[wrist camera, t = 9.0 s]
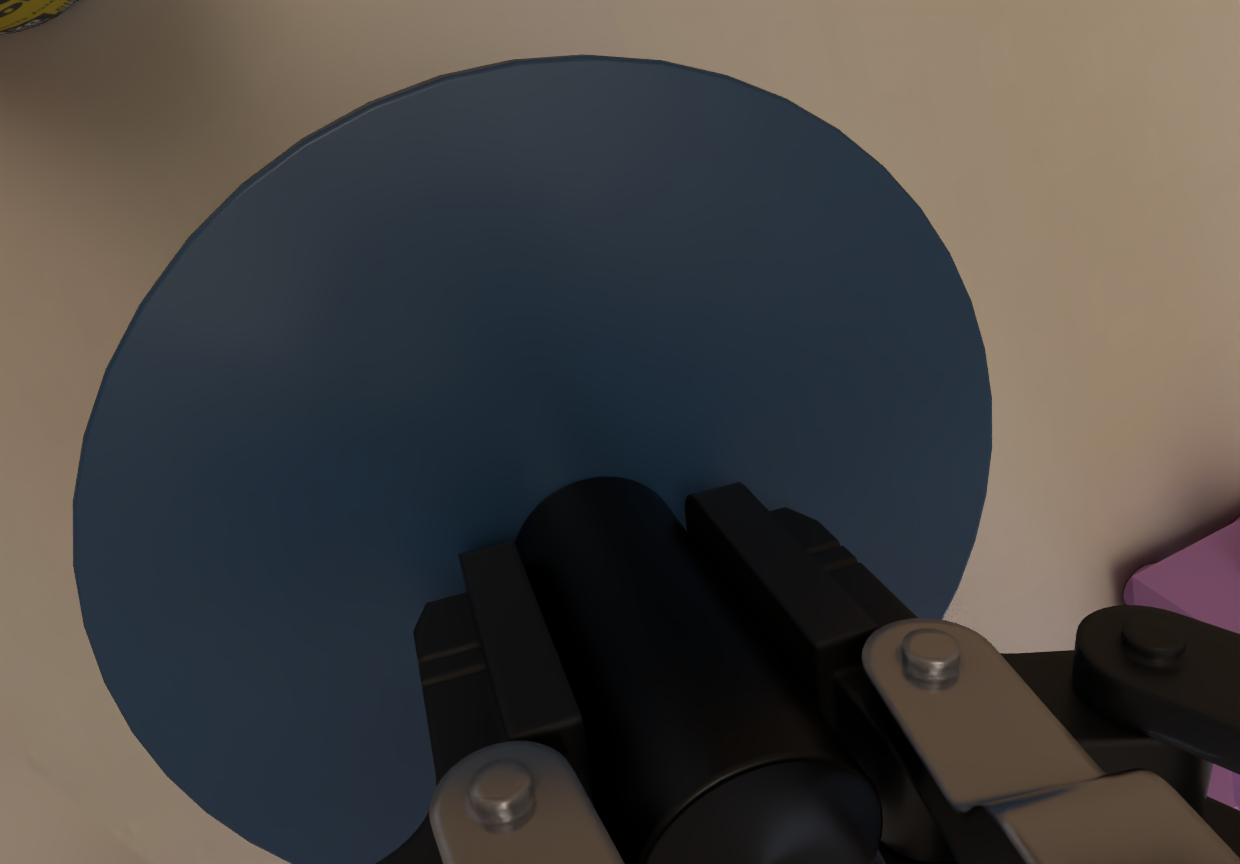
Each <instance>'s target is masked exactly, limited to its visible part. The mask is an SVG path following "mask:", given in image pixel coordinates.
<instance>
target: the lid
mask: <svg viewBox="0 0 1240 864" xmlns="http://www.w3.org/2000/svg"><path fill="white" fill-rule="evenodd" d="M991 451H992V397H991V389H990V382H989V375H988V368H987V361H986V353H985V348H984V344H983V341H982V337H981V334H980V330H979V327H978V323H977V320H976V316H975V312H974V309H973V305H972V302H971V299H970V297H969V295H968V293H967V290H966V288H965V286H964V284H963V281H962V279H961V277H960V275H959V273H958V270H957V268H956V266H955V264H954V261H953V259H952V257H951V255H950V253H949V251H948V250H947V248H946V247H945V245H944V243H943V242H942V240H941V239H940V237H939V236H938V234H937V233H936V231H935V229H934V228H933V226H932V225H931V223H930V222H929V220H928V219H927V217H926V216H925V214H924V212H923V211H922V209H921V208H920V207H919V205H918V204H917V203H916V202H915V201H914V200H913V199H912V198H911V196H910V195H909V194H908V193H907V192H906V191H905V190H904V189H903V187H902V186H901V185H900V184H899V183H898V182H897V181H896V180H895V178H894V177H893V176H892V175H891V174H890V173H889V172H888V171H887V169H886V168H885V167H884V166H883V165H882V164H880V163H879V162H878V161H877V160H875V159H874V158H873V157H872V156H871V155H869V154H868V153H867V152H866V151H864V150H863V149H862V148H861V147H860V146H858V145H857V144H856V143H855V142H854V141H852V140H851V139H850V138H849V137H847V136H846V135H845V134H844V133H843V132H841V131H840V130H839V129H837V128H836V127H834V126H832V125H830V124H829V123H827V122H825V121H824V120H822V119H820V118H818V117H817V116H815V115H813V114H812V113H810V112H808V111H807V110H805V109H803V108H801V107H800V106H798V105H796V104H795V103H793V102H791V101H790V100H788V99H786V98H783V97H781V96H778V95H776V94H773V93H771V92H768V91H766V90H763V89H761V88H758V87H756V86H753V85H750V84H748V83H745V82H743V81H740V80H738V79H735V78H733V77H730V76H728V75H724V74H719V73H715V72H711V71H706V70H702V69H697V68H693V67H689V66H684V65H680V64H675V63H671V62H667V61H662V60H650V59H637V58H623V57H610V56H596V55H570V56H556V57H542V58H528V59H514V60H508V61H503V62H499V63H494V64H490V65H485V66H480V67H476V68H471V69H467V70H462V71H458V72H453V73H449V74H444V75H439V76H437V77H434V78H431V79H429V80H426V81H423V82H421V83H418V84H415V85H413V86H410V87H407V88H405V89H402V90H399V91H397V92H394V93H391V94H389V95H386V96H383V97H381V98H378V99H375V100H373V101H370V102H368V103H366V104H364V105H362V106H361V107H359V108H357V109H355V110H353V111H351V112H350V113H348V114H346V115H344V116H342V117H340V118H339V119H337V120H335V121H333V122H331V123H329V124H328V125H326V126H324V127H322V128H320V129H318V130H317V131H315V132H313V133H311V134H309V135H307V136H306V137H304V138H302V139H301V140H299V141H298V142H297V143H295V144H294V145H293V146H291V147H290V148H289V149H287V150H286V151H285V152H283V153H282V154H281V155H279V156H278V157H277V158H275V159H274V160H273V161H271V162H270V163H269V164H267V165H266V166H265V167H263V168H262V169H261V170H259V171H258V172H257V173H255V174H254V175H253V176H251V177H250V178H249V179H247V180H246V181H245V182H243V183H242V184H241V185H240V186H239V187H238V188H237V189H236V190H235V191H234V192H233V193H232V194H231V195H230V196H229V197H228V198H227V199H226V200H225V201H224V202H223V203H222V204H221V205H220V206H219V207H218V208H217V209H216V210H215V211H214V212H213V213H212V214H211V215H210V216H209V217H208V218H207V219H206V220H205V221H204V222H203V223H202V224H201V225H200V226H199V227H198V228H197V229H196V230H195V231H194V232H193V233H192V234H191V235H190V236H189V237H188V239H187V240H186V241H185V243H184V244H183V245H182V247H181V248H180V250H179V251H178V252H177V254H176V255H175V256H174V258H173V259H172V260H171V262H170V263H169V265H168V266H167V267H166V269H165V270H164V271H163V273H162V274H161V275H160V277H159V278H158V279H157V281H156V282H155V284H154V285H153V286H152V288H151V289H150V290H149V292H148V293H147V294H146V296H145V297H144V299H143V300H142V302H141V303H140V305H139V307H138V309H137V310H136V312H135V314H134V316H133V318H132V320H131V322H130V324H129V326H128V328H127V330H126V331H125V333H124V335H123V337H122V339H121V341H120V343H119V345H118V347H117V349H116V351H115V353H114V354H113V356H112V358H111V360H110V362H109V364H108V366H107V368H106V370H105V373H104V376H103V379H102V382H101V385H100V388H99V391H98V394H97V397H96V400H95V403H94V406H93V409H92V412H91V415H90V418H89V421H88V424H87V427H86V430H85V433H84V436H83V442H82V448H81V455H80V461H79V467H78V473H77V479H76V485H75V492H74V498H73V567H74V573H75V578H76V584H77V589H78V595H79V601H80V606H81V612H82V618H83V623H84V627H85V630H86V633H87V636H88V639H89V641H90V644H91V647H92V650H93V653H94V655H95V658H96V661H97V664H98V666H99V669H100V672H101V675H102V678H103V680H104V683H105V685H106V686H107V688H108V690H109V692H110V693H111V695H112V697H113V699H114V701H115V702H116V704H117V706H118V708H119V710H120V711H121V713H122V715H123V717H124V719H125V720H126V722H127V724H128V726H129V727H130V729H131V731H132V733H133V734H134V735H135V736H136V738H137V739H138V740H139V742H140V743H141V744H142V745H143V747H144V748H145V749H146V750H147V752H148V753H149V754H150V755H151V757H152V758H153V759H154V760H155V762H156V763H157V764H158V765H159V767H160V768H161V769H162V771H163V772H164V773H165V774H166V776H167V777H169V778H170V779H171V780H172V781H173V782H174V783H175V784H176V785H177V786H178V787H179V788H180V789H181V790H183V791H184V792H185V793H186V794H187V795H188V796H189V797H190V798H191V799H192V800H193V801H194V802H196V803H197V804H198V805H199V806H200V807H201V808H202V809H203V810H204V811H205V812H206V813H208V814H209V815H211V816H212V817H214V818H215V819H216V820H218V821H219V822H221V823H222V824H224V825H225V826H227V827H228V828H230V829H231V830H232V831H234V832H235V833H237V834H238V835H240V836H241V837H243V838H244V839H246V840H247V841H248V842H250V843H252V844H254V845H256V846H258V847H260V848H262V849H264V850H266V851H268V852H270V853H272V854H274V855H276V856H278V857H280V858H282V859H284V860H286V861H288V862H290V863H292V864H375V863H377V862H379V861H380V860H382V859H383V858H385V857H386V856H388V855H389V854H391V853H392V852H393V851H395V850H396V849H397V848H399V847H400V846H401V845H402V844H403V843H404V842H405V841H407V840H408V839H409V838H410V836H411V835H412V834H413V833H414V832H415V831H416V830H417V829H418V827H419V826H420V825H421V823H422V822H423V820H424V819H425V817H426V815H427V814H428V812H429V808H430V802H431V798H432V795H433V793H434V791H435V789H436V773H435V767H434V761H433V754H432V748H431V742H430V735H429V729H428V723H427V716H426V710H425V704H424V698H423V691H422V684H421V679H420V672H419V666H418V665H419V664H418V660H417V654H416V647H415V641H414V635H413V630H414V628H415V626H416V624H417V622H418V620H419V617H420V615H421V613H422V611H423V609H424V606H425V604H426V603H428V602H432V601H436V600H439V599H443V598H447V597H451V596H454V595H458V594H462V593H465V592H466V588H465V583H464V579H463V575H462V570H461V566H460V561H459V557H458V554H461V553H465V552H469V551H473V550H476V549H480V548H484V547H488V546H492V545H496V544H500V543H503V542H507V541H511V540H513V541H514V543H515V546H516V548H517V551H518V553H519V556H520V558H521V561H522V564H523V566H524V569H525V571H526V574H527V576H528V579H529V582H530V584H531V587H532V589H533V592H534V595H535V597H536V600H537V602H538V605H539V607H540V610H541V613H542V615H543V618H544V620H545V623H546V626H547V628H548V631H549V633H550V636H551V638H552V641H553V644H554V646H555V649H556V651H557V654H558V656H559V659H560V662H561V664H562V667H563V669H564V672H565V675H566V677H567V680H568V682H569V685H570V687H571V690H572V693H573V695H574V698H575V700H576V703H577V705H578V708H579V711H580V713H581V716H582V719H583V725H584V731H585V736H586V742H587V747H588V753H589V758H590V764H591V770H592V775H593V794H592V796H593V807H594V808H595V810H596V812H597V814H598V816H599V818H600V819H601V821H602V823H603V825H604V827H605V829H606V830H607V832H608V834H609V836H610V838H611V840H612V841H613V843H614V845H615V847H616V849H617V851H618V852H619V854H620V856H621V858H622V860H623V862H624V863H625V864H873V862H874V860H875V857H876V854H877V852H878V849H879V845H880V841H881V837H882V828H883V815H882V807H881V802H880V798H879V795H878V792H877V789H876V787H875V785H874V783H873V781H872V780H871V779H870V777H869V776H868V775H867V773H866V772H865V771H864V769H863V768H862V767H861V765H860V764H859V763H858V761H857V760H856V759H855V757H854V756H853V754H852V753H851V752H850V750H849V749H848V748H847V746H846V745H845V744H844V742H843V741H842V740H841V738H840V737H839V736H838V734H837V733H836V732H835V730H834V729H833V728H832V726H831V725H830V723H829V722H828V721H827V719H826V718H825V717H824V715H823V714H822V713H821V711H820V710H819V709H818V707H817V706H816V705H815V703H814V702H813V701H812V699H811V698H810V697H809V695H808V694H807V692H806V691H805V690H804V688H803V687H802V686H801V684H800V683H799V682H798V680H797V679H796V678H795V676H794V675H793V674H792V672H791V671H790V670H789V668H788V667H787V666H786V664H785V663H784V661H783V660H782V659H781V657H780V656H779V655H778V653H777V652H776V651H775V649H774V648H773V647H772V645H771V644H770V643H769V641H768V640H767V639H766V637H765V636H764V635H763V633H762V632H761V631H760V629H759V628H758V626H757V625H756V624H755V622H754V621H753V620H752V618H751V617H750V616H749V614H748V613H747V612H746V610H745V609H744V608H743V606H742V605H741V604H740V602H739V601H738V600H737V598H736V597H735V595H734V594H733V593H732V591H731V590H730V589H729V587H728V586H727V585H726V583H725V582H724V581H723V579H722V578H721V577H720V575H719V574H718V573H717V571H716V570H715V569H714V567H713V566H712V564H711V563H710V562H709V560H708V559H707V558H706V556H705V555H704V554H703V552H702V551H701V550H700V548H699V547H698V546H697V544H696V543H695V542H694V540H693V539H692V538H691V536H690V535H689V534H688V532H687V526H686V517H685V500H686V497H687V496H688V495H690V494H694V493H698V492H702V491H705V490H709V489H713V488H717V487H721V486H725V485H729V484H733V483H736V482H741V483H743V484H744V485H745V486H746V487H747V488H748V489H749V490H750V491H751V492H752V493H753V495H754V496H755V497H756V498H757V499H758V500H759V501H760V502H761V503H762V504H763V505H764V506H765V507H766V508H767V509H768V510H769V511H772V510H776V509H780V508H784V507H787V508H790V509H792V510H794V511H797V512H799V513H801V514H803V515H806V516H808V517H810V518H813V519H815V520H817V521H819V522H820V523H821V524H822V525H823V526H824V527H825V528H826V529H827V530H828V531H829V532H830V533H831V534H832V535H833V536H834V537H835V538H836V539H837V540H838V541H839V543H840V546H843V545H844V546H845V547H846V548H847V549H848V550H849V551H850V552H851V553H852V554H853V555H854V556H855V557H856V558H857V562H858V563H862V564H863V565H864V566H865V567H866V568H867V569H868V570H869V571H870V572H871V573H872V574H873V575H874V576H875V577H877V578H878V579H879V580H880V581H881V582H882V583H883V584H884V585H885V586H886V587H887V588H888V589H889V590H890V591H891V592H892V593H893V594H894V595H895V596H896V597H897V598H898V599H899V600H900V601H901V602H902V603H903V604H904V605H905V606H906V607H907V608H908V609H909V610H910V611H912V612H913V613H914V614H915V615H916V616H917V617H918V618H932V619H940V620H942V619H943V617H944V615H945V613H946V611H947V609H948V607H949V605H950V603H951V601H952V599H953V597H954V595H955V593H956V591H957V589H958V587H959V584H960V581H961V579H962V576H963V573H964V570H965V567H966V565H967V562H968V559H969V556H970V554H971V551H972V548H973V545H974V543H975V539H976V535H977V531H978V527H979V523H980V518H981V514H982V510H983V506H984V502H985V498H986V493H987V484H988V476H989V467H990V459H991Z"/></svg>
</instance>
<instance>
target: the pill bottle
mask: <svg viewBox="0 0 1240 864" xmlns="http://www.w3.org/2000/svg"><path fill="white" fill-rule="evenodd" d="M78 1H79V0H0V35H2V34H8V33H14V32H19V31H22V30H26V29H29V28H32V27H35V26H38V25H40V24H42V23H44V22H46V21H48V20H50V19H52V18H55V17H57V16H58V15H60V14H62V13H63V12H65V11H66V10H68V9H69V8H71V7H72V6H73V5H74V4H76V3H77V2H78Z"/></svg>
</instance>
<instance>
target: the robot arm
mask: <svg viewBox="0 0 1240 864" xmlns="http://www.w3.org/2000/svg"><path fill="white" fill-rule="evenodd" d="M685 517H686V526H687V532H688V534H689V535H690V536H691V538H692V539H693V540H694V542H695V543H696V544H697V546H698V547H699V548H700V550H701V551H702V552H703V554H704V555H705V556H706V558H707V559H708V560H709V562H710V563H711V564H712V566H713V567H714V569H715V570H716V571H717V573H718V574H719V575H720V577H721V578H722V579H723V581H724V582H725V583H726V585H727V586H728V587H729V589H730V590H731V591H732V593H733V594H734V595H735V597H736V598H737V600H738V601H739V602H740V604H741V605H742V606H743V608H744V609H745V610H746V612H747V613H748V614H749V616H750V617H751V618H752V620H753V621H754V622H755V624H756V625H757V626H758V628H759V629H760V631H761V632H762V633H763V635H764V636H765V637H766V639H767V640H768V641H769V643H770V644H771V645H772V647H773V648H774V649H775V651H776V652H777V653H778V655H779V656H780V657H781V659H782V660H783V661H784V663H785V664H786V666H787V667H788V668H789V670H790V671H791V672H792V674H793V675H794V676H795V678H796V679H797V680H798V682H799V683H800V684H801V686H802V687H803V688H804V690H805V691H806V692H807V694H808V695H809V697H810V698H811V699H812V701H813V702H814V703H815V705H816V706H817V707H818V709H819V710H820V711H821V713H822V714H823V715H824V717H825V718H826V719H827V721H828V722H829V723H830V725H831V726H832V728H833V729H834V730H835V732H836V733H837V734H838V736H839V737H840V738H841V740H842V741H843V742H844V744H845V745H846V746H847V748H848V749H849V750H850V752H851V753H852V754H853V756H854V757H855V759H856V760H857V761H858V763H859V764H860V765H861V767H862V768H863V769H864V771H865V772H866V773H867V775H868V776H869V777H870V779H871V780H872V781H873V783H874V785H875V787H876V789H877V792H878V795H879V798H880V802H881V807H882V815H883V828H882V837H881V841H880V845H879V849H878V852H877V854H876V857H875V860H874V862H873V864H1240V811H1239V810H1237V809H1235V808H1233V807H1230V806H1228V805H1226V804H1224V803H1222V802H1219V801H1217V800H1215V799H1213V798H1211V797H1208V796H1207V793H1208V788H1209V783H1210V778H1211V773H1212V768H1213V764H1216V765H1218V766H1220V767H1223V768H1225V769H1227V770H1230V771H1232V772H1234V773H1237V774H1239V775H1240V634H1238V633H1235V632H1232V631H1229V630H1226V629H1223V628H1220V627H1217V626H1214V625H1211V624H1208V623H1205V622H1202V621H1200V620H1197V619H1194V618H1191V617H1188V616H1185V615H1182V614H1179V613H1175V612H1172V611H1169V610H1165V609H1160V608H1155V607H1150V606H1141V605H1121V606H1112V607H1107V608H1103V609H1100V610H1097V611H1095V612H1093V613H1091V614H1089V615H1088V616H1087V617H1085V618H1084V619H1083V620H1082V621H1081V623H1080V624H1079V626H1078V629H1077V633H1076V642H1075V650H1070V651H1053V652H1035V653H1018V654H1003V653H999V652H998V651H997V650H996V648H995V647H994V646H993V645H992V644H991V643H990V642H989V641H988V640H987V639H986V638H984V637H983V636H981V635H980V634H979V633H977V632H975V631H973V630H971V629H969V628H967V627H965V626H962V625H960V624H957V623H953V622H950V621H946V620H940V619H932V618H918V617H917V616H916V615H915V614H914V613H913V612H912V611H910V610H909V609H908V608H907V607H906V606H905V605H904V604H903V603H902V602H901V601H900V600H899V599H898V598H897V597H896V596H895V595H894V594H893V593H892V592H891V591H890V590H889V589H888V588H887V587H886V586H885V585H884V584H883V583H882V582H881V581H880V580H879V579H878V578H877V577H875V576H874V575H873V574H872V573H871V572H870V571H869V570H868V569H867V568H866V567H865V566H864V565H863V564H862V563H858V562H857V558H856V557H855V556H854V555H853V554H852V553H851V552H850V551H849V550H848V549H847V548H846V547H845V546H844V545H843V546H840V543H839V541H838V540H837V539H836V538H835V537H834V536H833V535H832V534H831V533H830V532H829V531H828V530H827V529H826V528H825V527H824V526H823V525H822V524H821V523H820V522H819V521H817V520H815V519H813V518H810V517H808V516H806V515H803V514H801V513H799V512H797V511H794V510H792V509H790V508H787V507H784V508H780V509H776V510H772V511H769V510H768V509H767V508H766V507H765V506H764V505H763V504H762V503H761V502H760V501H759V500H758V499H757V498H756V497H755V496H754V495H753V493H752V492H751V491H750V490H749V489H748V488H747V487H746V486H745V485H744V484H743V483H741V482H736V483H733V484H729V485H725V486H721V487H717V488H713V489H709V490H705V491H702V492H698V493H694V494H690V495H688V496H687V497H686V500H685ZM458 557H459V561H460V566H461V570H462V575H463V579H464V583H465V588H466V592H465V593H462V594H458V595H454V596H451V597H447V598H443V599H439V600H436V601H432V602H428V603H426V604H425V606H424V609H423V611H422V613H421V615H420V617H419V620H418V622H417V624H416V626H415V628H414V630H413V635H414V641H415V647H416V654H417V660H418V664H419V665H418V666H419V672H420V679H421V684H422V691H423V698H424V704H425V710H426V716H427V723H428V729H429V735H430V742H431V748H432V754H433V761H434V767H435V773H436V789H435V791H434V793H433V795H432V798H431V802H430V808H429V812H428V814H427V815H426V817H425V819H424V820H423V822H422V823H421V825H420V826H419V827H418V829H417V830H416V831H415V832H414V833H413V834H412V835H411V836H410V838H409V839H408V840H407V841H405V842H404V843H403V844H402V845H401V846H400V847H399V848H397V849H396V850H395V851H393V852H392V853H391V854H389V855H388V856H386V857H385V858H383V859H382V860H380V861H379V862H377V863H375V864H625V863H624V862H623V860H622V858H621V856H620V854H619V852H618V851H617V849H616V847H615V845H614V843H613V841H612V840H611V838H610V836H609V834H608V832H607V830H606V829H605V827H604V825H603V823H602V821H601V819H600V818H599V816H598V814H597V812H596V810H595V808H594V807H593V796H592V794H593V775H592V770H591V764H590V758H589V753H588V747H587V742H586V736H585V731H584V725H583V719H582V716H581V713H580V711H579V708H578V705H577V703H576V700H575V698H574V695H573V693H572V690H571V687H570V685H569V682H568V680H567V677H566V675H565V672H564V669H563V667H562V664H561V662H560V659H559V656H558V654H557V651H556V649H555V646H554V644H553V641H552V638H551V636H550V633H549V631H548V628H547V626H546V623H545V620H544V618H543V615H542V613H541V610H540V607H539V605H538V602H537V600H536V597H535V595H534V592H533V589H532V587H531V584H530V582H529V579H528V576H527V574H526V571H525V569H524V566H523V564H522V561H521V558H520V556H519V553H518V551H517V548H516V546H515V543H514V541H513V540H511V541H507V542H503V543H500V544H496V545H492V546H488V547H484V548H480V549H476V550H473V551H469V552H465V553H461V554H458Z"/></svg>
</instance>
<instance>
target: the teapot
mask: <svg viewBox="0 0 1240 864" xmlns="http://www.w3.org/2000/svg"><path fill="white" fill-rule="evenodd" d="M1124 600H1125V602H1126V604H1127V605H1141V606H1150V607H1155V608H1160V609H1165V610H1169V611H1172V612H1175V613H1179V614H1182V615H1185V616H1188V617H1191V618H1194V619H1197V620H1200V621H1202V622H1205V623H1208V624H1211V625H1214V626H1217V627H1220V628H1223V629H1226V630H1229V631H1232V632H1235V633H1238V634H1240V517H1239V518H1237V519H1236V520H1235V521H1234V523H1232V524H1230V525H1228V526H1226V527H1224V528H1222V529H1220V530H1219V531H1217V532H1215V533H1213V534H1211V535H1209V536H1207V537H1205V538H1203V539H1202V540H1200V541H1198V542H1196V543H1194V544H1192V545H1190V546H1188V547H1186V548H1185V549H1183V550H1181V551H1179V552H1177V553H1175V554H1173V555H1171V556H1169V557H1167V558H1165V559H1164V560H1162V561H1160V562H1158V563H1156V564H1149V565H1146V566H1144V567H1142V568H1140V569H1139V570H1138V571H1136V572H1135V573H1134V574H1133V575H1132V576H1131V578H1130V579H1129V580H1128V582H1127V584H1126V587H1125V589H1124ZM1207 796H1208V797H1211V798H1213V799H1215V800H1217V801H1219V802H1222V803H1224V804H1226V805H1228V806H1230V807H1233V808H1235V809H1237V810H1239V811H1240V775H1239V774H1237V773H1234V772H1232V771H1230V770H1227V769H1225V768H1223V767H1220V766H1218V765H1216V764H1213V768H1212V773H1211V778H1210V783H1209V788H1208V793H1207Z"/></svg>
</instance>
